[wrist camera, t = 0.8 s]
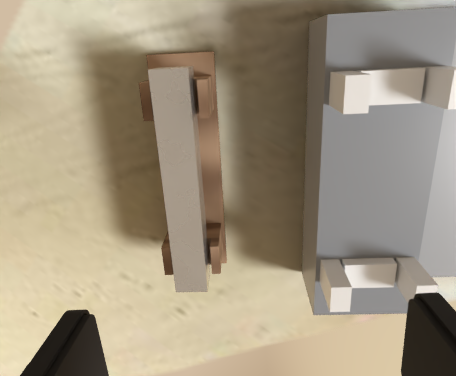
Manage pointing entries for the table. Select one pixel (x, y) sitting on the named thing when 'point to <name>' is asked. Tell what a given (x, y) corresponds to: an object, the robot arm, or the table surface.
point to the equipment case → (379, 159)
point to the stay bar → (181, 174)
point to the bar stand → (208, 147)
